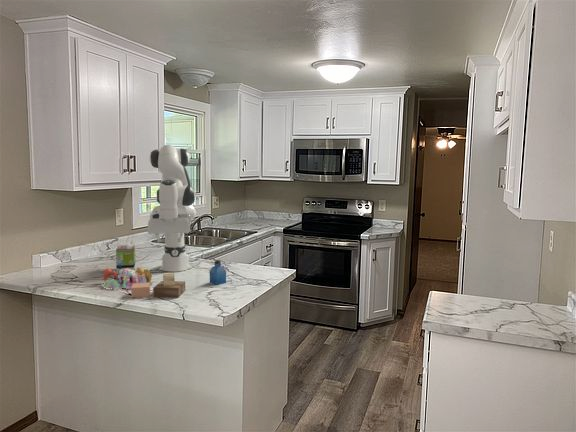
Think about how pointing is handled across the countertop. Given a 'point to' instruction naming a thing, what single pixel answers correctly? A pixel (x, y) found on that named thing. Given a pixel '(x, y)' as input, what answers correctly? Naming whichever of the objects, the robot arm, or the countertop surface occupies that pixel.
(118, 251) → the tea box
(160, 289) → the walnut block
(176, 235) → the robot arm
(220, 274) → the perfume bottle
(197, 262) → the countertop surface
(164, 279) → the maple cube
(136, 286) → the terracotta block
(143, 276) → the candy landscape model
